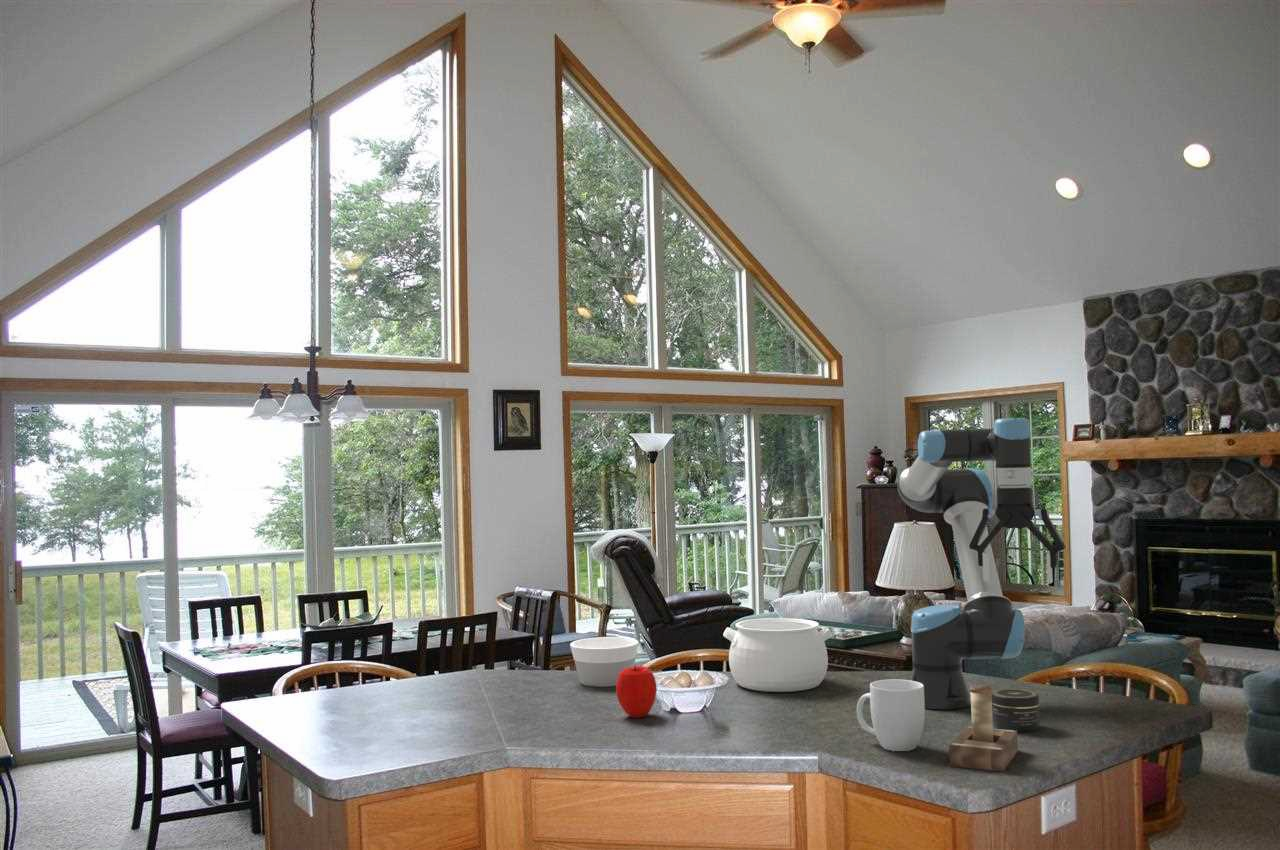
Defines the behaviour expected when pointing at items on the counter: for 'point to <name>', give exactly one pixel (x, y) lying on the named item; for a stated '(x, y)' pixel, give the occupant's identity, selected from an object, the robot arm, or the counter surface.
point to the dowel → (981, 713)
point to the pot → (778, 654)
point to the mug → (895, 713)
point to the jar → (1015, 709)
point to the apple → (636, 690)
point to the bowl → (603, 659)
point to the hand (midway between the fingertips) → (1017, 581)
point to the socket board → (984, 750)
